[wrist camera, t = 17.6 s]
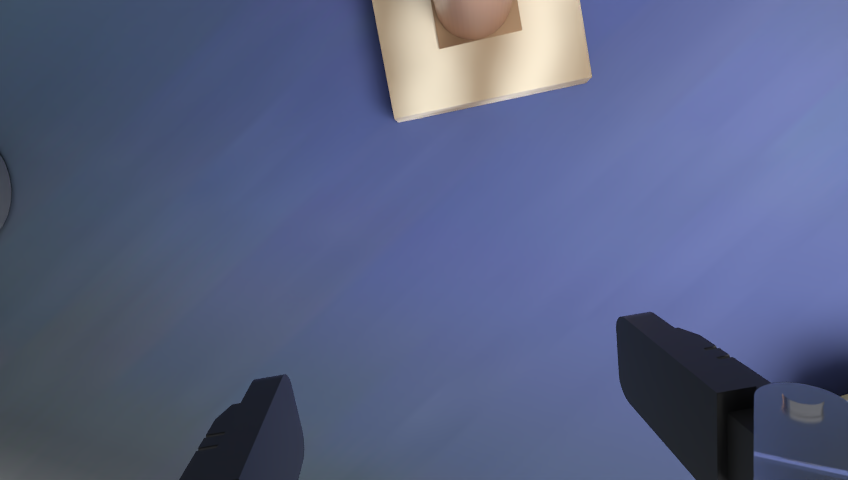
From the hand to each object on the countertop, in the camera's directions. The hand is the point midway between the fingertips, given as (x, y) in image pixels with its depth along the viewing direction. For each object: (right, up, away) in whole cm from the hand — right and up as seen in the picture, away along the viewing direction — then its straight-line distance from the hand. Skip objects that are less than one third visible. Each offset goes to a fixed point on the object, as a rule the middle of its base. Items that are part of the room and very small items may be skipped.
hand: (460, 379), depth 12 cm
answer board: (+2, +18, +19) cm, 26 cm away
